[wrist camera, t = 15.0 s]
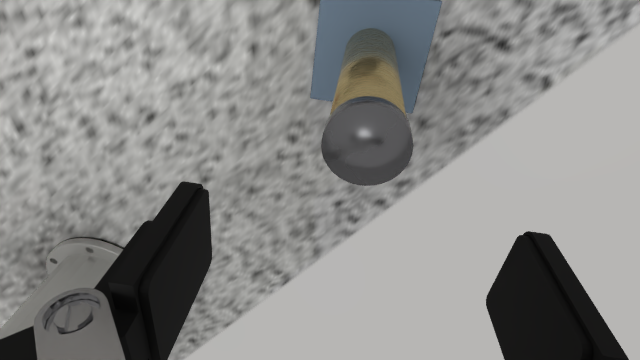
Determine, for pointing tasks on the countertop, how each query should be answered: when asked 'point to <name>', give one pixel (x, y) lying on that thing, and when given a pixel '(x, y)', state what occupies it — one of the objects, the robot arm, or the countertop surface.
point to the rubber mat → (379, 13)
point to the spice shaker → (368, 114)
